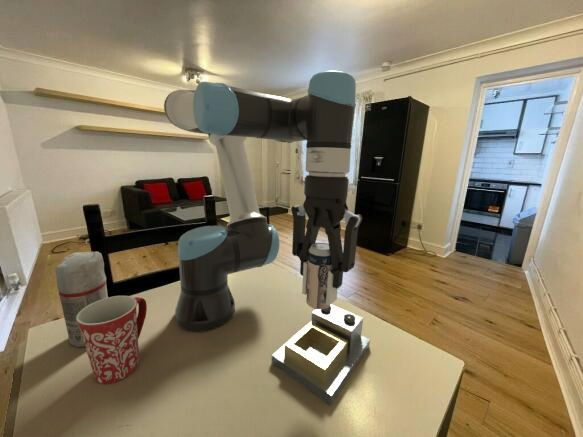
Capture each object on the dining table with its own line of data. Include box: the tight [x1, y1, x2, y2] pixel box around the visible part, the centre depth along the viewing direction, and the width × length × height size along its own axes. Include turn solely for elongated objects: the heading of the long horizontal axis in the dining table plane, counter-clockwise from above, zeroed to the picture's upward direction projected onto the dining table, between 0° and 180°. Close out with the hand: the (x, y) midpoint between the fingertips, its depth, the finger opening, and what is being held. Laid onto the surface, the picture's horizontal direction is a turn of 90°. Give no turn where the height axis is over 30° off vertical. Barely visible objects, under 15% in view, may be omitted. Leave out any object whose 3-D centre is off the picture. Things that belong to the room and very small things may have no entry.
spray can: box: [54, 251, 109, 348], centre depth 55 cm, size 8×8×20 cm
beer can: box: [306, 242, 332, 310], centre depth 47 cm, size 5×5×12 cm
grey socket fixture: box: [271, 303, 371, 406], centre depth 53 cm, size 14×18×8 cm
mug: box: [76, 295, 148, 385], centre depth 49 cm, size 13×9×14 cm
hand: (319, 296), depth 48 cm, fingers closed on beer can, 5 cm apart
